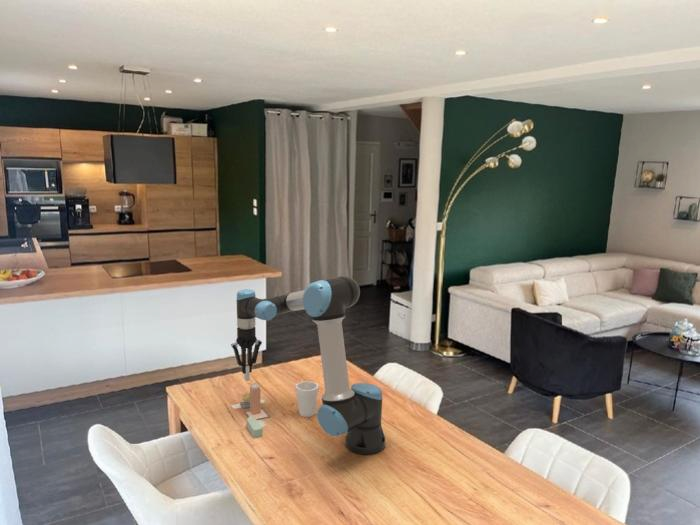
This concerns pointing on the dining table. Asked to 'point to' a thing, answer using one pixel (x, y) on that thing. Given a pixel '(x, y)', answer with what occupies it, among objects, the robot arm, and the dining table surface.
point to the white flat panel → (258, 416)
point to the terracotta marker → (255, 399)
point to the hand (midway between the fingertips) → (246, 379)
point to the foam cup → (307, 398)
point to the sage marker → (254, 427)
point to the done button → (246, 397)
